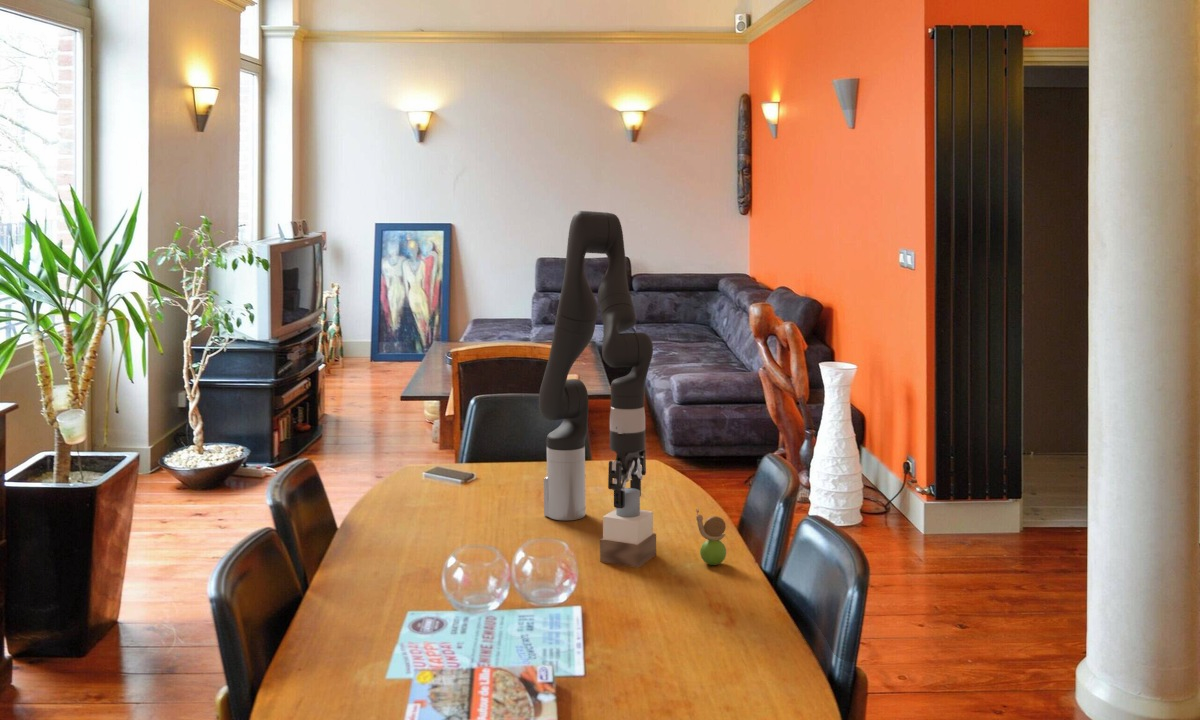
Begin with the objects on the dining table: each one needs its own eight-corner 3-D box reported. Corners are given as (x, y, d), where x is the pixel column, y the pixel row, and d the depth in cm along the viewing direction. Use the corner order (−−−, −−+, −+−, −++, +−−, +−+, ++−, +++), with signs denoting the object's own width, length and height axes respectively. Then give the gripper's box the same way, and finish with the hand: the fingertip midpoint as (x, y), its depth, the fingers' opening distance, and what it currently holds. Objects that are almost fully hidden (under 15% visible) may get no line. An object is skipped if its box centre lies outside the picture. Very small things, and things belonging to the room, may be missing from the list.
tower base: (600, 562, 226) (599, 539, 225) (618, 549, 234) (618, 527, 233) (638, 568, 222) (638, 545, 221) (656, 555, 230) (656, 533, 229)
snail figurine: (693, 560, 226) (694, 505, 224) (723, 559, 227) (724, 505, 225) (697, 569, 221) (698, 513, 219) (728, 568, 221) (729, 512, 220)
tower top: (603, 539, 225) (603, 516, 225) (619, 528, 232) (619, 506, 232) (637, 544, 222) (637, 521, 221) (652, 533, 229) (653, 511, 228)
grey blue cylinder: (612, 515, 225) (612, 492, 224) (621, 509, 230) (621, 486, 229) (634, 518, 223) (634, 495, 222) (643, 512, 228) (643, 489, 227)
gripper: (625, 419, 232) (625, 492, 234) (596, 432, 219) (597, 509, 221) (657, 422, 228) (656, 496, 231) (630, 436, 216) (630, 513, 218)
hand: (627, 502), depth 226 cm, fingers open, 8 cm apart
